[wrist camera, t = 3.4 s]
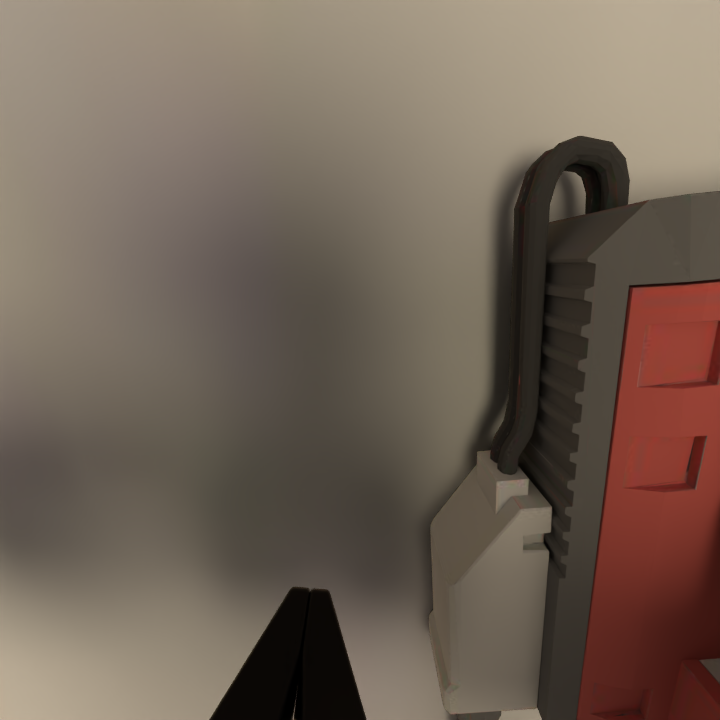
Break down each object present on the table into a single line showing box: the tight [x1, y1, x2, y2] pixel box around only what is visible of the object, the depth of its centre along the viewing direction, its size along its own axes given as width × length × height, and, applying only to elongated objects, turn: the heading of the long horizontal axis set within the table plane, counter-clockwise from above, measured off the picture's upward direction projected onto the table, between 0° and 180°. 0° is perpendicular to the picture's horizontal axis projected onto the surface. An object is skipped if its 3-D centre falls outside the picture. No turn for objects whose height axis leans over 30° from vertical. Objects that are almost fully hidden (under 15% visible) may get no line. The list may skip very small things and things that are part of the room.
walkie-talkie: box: [429, 136, 720, 720], centre depth 7 cm, size 9×4×20 cm
